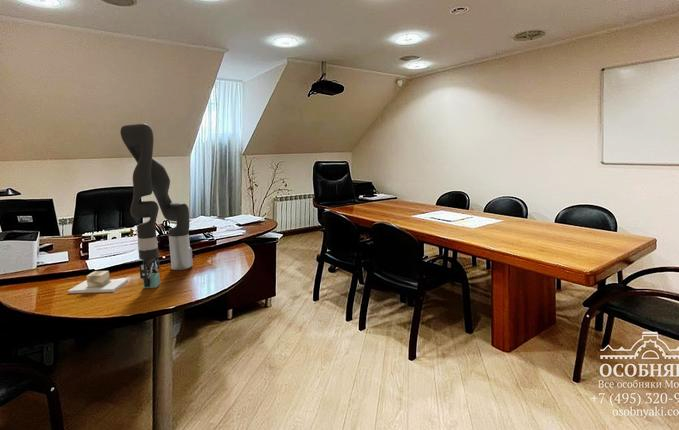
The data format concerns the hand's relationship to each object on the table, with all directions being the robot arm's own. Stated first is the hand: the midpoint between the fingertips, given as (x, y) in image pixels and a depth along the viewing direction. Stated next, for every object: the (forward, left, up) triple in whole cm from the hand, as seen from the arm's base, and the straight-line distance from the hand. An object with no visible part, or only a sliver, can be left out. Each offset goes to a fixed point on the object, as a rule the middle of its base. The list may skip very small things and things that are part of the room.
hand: (151, 283), depth 158 cm
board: (+14, -17, -1) cm, 22 cm away
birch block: (+14, -17, 0) cm, 22 cm away
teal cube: (0, 0, -1) cm, 1 cm away
